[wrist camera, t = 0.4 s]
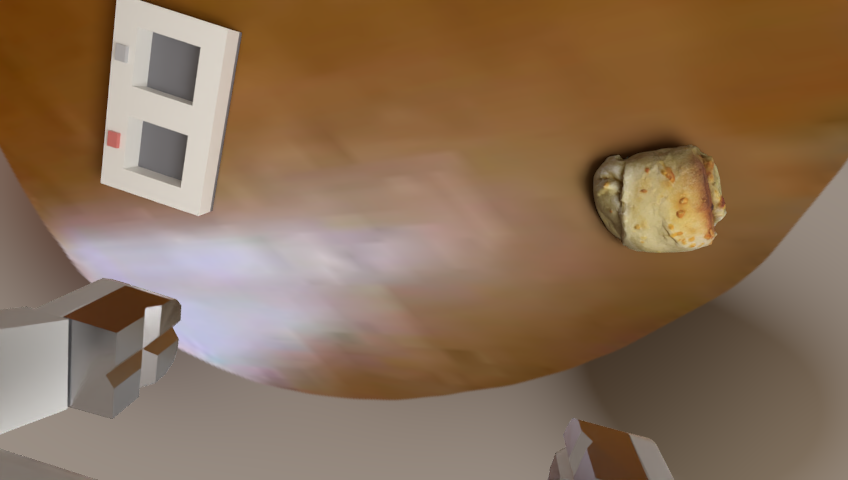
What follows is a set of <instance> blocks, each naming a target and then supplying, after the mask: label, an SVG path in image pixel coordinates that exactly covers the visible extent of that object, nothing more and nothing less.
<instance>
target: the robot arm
mask: <svg viewBox="0 0 848 480" xmlns="http://www.w3.org/2000/svg"><path fill="white" fill-rule="evenodd" d="M180 320H181V304H180V303H179V302H178V300H176V299H173V298H170V297H167V296H164V295H161V294H158V293H155V292H151V291H148V290H145V289H142V288H139V287H136V286H131V285H130V284H127V283H123V282H120V281H116V280H113V279H105V278H102V279H100V280H98V281H95V282H93V283H91V284H89V285H87V286H84V287H82V288H80V289H78V290H75V291H73V292H71V293H69V294H67V295H64V296H62V297H60V298H58V299H55V300H53V301H51V302H49V303H47V304H44V305H42V306H40V307H37V308H35V309H33V308H30V307H20V308H12V309H3V310H0V434H2V433H5V432H7V431H10V430H13V429H15V428H18V427H21V426H23V425H26V424H29V423H31V422H34V421H37V420H39V419H42V418H44V417H47V416H50V415H53V414H55V413H58V412H61V411H63V410H66V409H67V408H68V407H71V408H75V409H78V410H82V411H85V412H89V413H93V414H96V415H100V416H103V417H107V418H110V419H113V418H114V417H115V416H117V415H118V414H119V413H120V412H121V411H123V410H124V409H125V408H126V407H127V406H129V405H130V404H131V403H132V402H133V401H134V400H136V399H137V398H138V397H139V389H140V387H143V386H147V385H150V384H153V383H156V382H157V381H158V380H159V379H160V378H161V377H163V376H164V375H165V374H166V372H167V371H168V369H169V368H170V366H171V365H172V363H173V361H174V359H175V355H176V353H177V349H178V340H179V339H178V337H177V335H176V333H175V331H174V329H173V326H175V325H176V324H177V323H178V322H179V321H180ZM564 440H565V444H566V447H565V448H563V449H561V450H560V451H558V452H556V453H555V456H554V459H553V461H552V464H551V467H550V472H549V477H548V480H674V479H673V477H672V475H671V473H670V471H669V469H668V467H667V465H666V463H665V461H664V459H663V457H662V455H661V453H660V451H659V449H658V447H657V445H656V443H655V442H654V441H652V440H651V439H650V438H646V437H642V436H638V435H634V434H630V433H627V432H622V431H618V430H614V429H611V428H607V427H603V426H600V425H596V424H592V423H588V422H585V421H581V420H578V419H574V418H573V419H572V420H571V421H570V422H569V424H568V425H567V428H566V430H565V432H564ZM0 480H96V479H93V478H90V477H87V476H84V475H81V474H77V473H75V472H71V471H68V470H65V469H62V468H59V467H56V466H53V465H50V464H46V463H43V462H40V461H37V460H34V459H31V458H27V457H25V456H22V455H18V454H15V453H12V452H9V451H6V450H3V449H0Z"/></svg>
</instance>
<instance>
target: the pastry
mask: <svg viewBox="0 0 848 480" xmlns="http://www.w3.org/2000/svg"><path fill="white" fill-rule="evenodd" d="M593 193H594V200H595V204H596V208H597V211H598V214H599V215H600V217H601V219H602V220H603V222H604V223H605V225H606V227H607V229H608V230H609V231H610V232H611V233H613V234H614V235H615V236H616V237H618V238H619V239H621V240H622V241H623V245H625V246H627V247H628V248H630V249H633V250H636V251H644V252H655V253H660V252H684V251H692V250H694V249H698V248H701V247H704V246H707V245H711V244H712V240H713V239H714V237H715V236H716V235H717V233H716V232H715V225H716V224H717V222H719V221H720V220H721V219H722V218H723V217H724V216H725V214H726V209H725V208H726V206H725V202H724V198H723V197H722V192H721V186H720V177H719V174H718V170H717V167H716V165H715V163H714V161H713V158H712V156H707V155H705V154H704V153H702V152H700V150H699V148H697V147H696V146H693V145H687V146H679V147H677V148H663V149H659V150H655V151H647V152H642V153H638V154H635V155H633V156H631V157H629V158H628V157H627V158H625V159H624V160H623V159H622V158H621V156H620V155H615V156H610V157H608V158H606V159H605V162H603V163H602V165H601V166H600V167H599V168H598V170H597V171H596V173H595V175H594V181H593Z"/></svg>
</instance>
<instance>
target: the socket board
mask: <svg viewBox="0 0 848 480" xmlns="http://www.w3.org/2000/svg"><path fill="white" fill-rule="evenodd" d="M241 35H242V33H241V32H237V31H234V30H231V29H228V28H225V27H222V26H219V25H216V24H213V23H209V22H206V21H203V20H200V19H197V18H194V17H191V16H188V15H185V14H182V13H178V12H175V11H172V10H169V9H166V8H163V7H160V6H157V5H154V4H150V3H147V2H144V1H141V0H116V12H115V23H114V35H113V46H112V58H111V69H110V81H109V92H108V104H107V116H106V127H105V139H104V150H103V162H102V173H101V183H102V184H105V185H108V186H111V187H114V188H117V189H120V190H123V191H126V192H129V193H132V194H135V195H138V196H141V197H144V198H147V199H150V200H152V201H155V202H158V203H161V204H164V205H167V206H170V207H173V208H176V209H179V210H182V211H185V212H188V213H191V214H194V215H197V216H200V215H203V214H205V213H208V212H210V211H212V209H213V203H214V197H215V191H216V185H217V179H218V173H219V167H220V161H221V155H222V149H223V143H224V137H225V131H226V125H227V119H228V113H229V107H230V101H231V95H232V89H233V83H234V77H235V71H236V65H237V59H238V53H239V47H240V41H241Z"/></svg>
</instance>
